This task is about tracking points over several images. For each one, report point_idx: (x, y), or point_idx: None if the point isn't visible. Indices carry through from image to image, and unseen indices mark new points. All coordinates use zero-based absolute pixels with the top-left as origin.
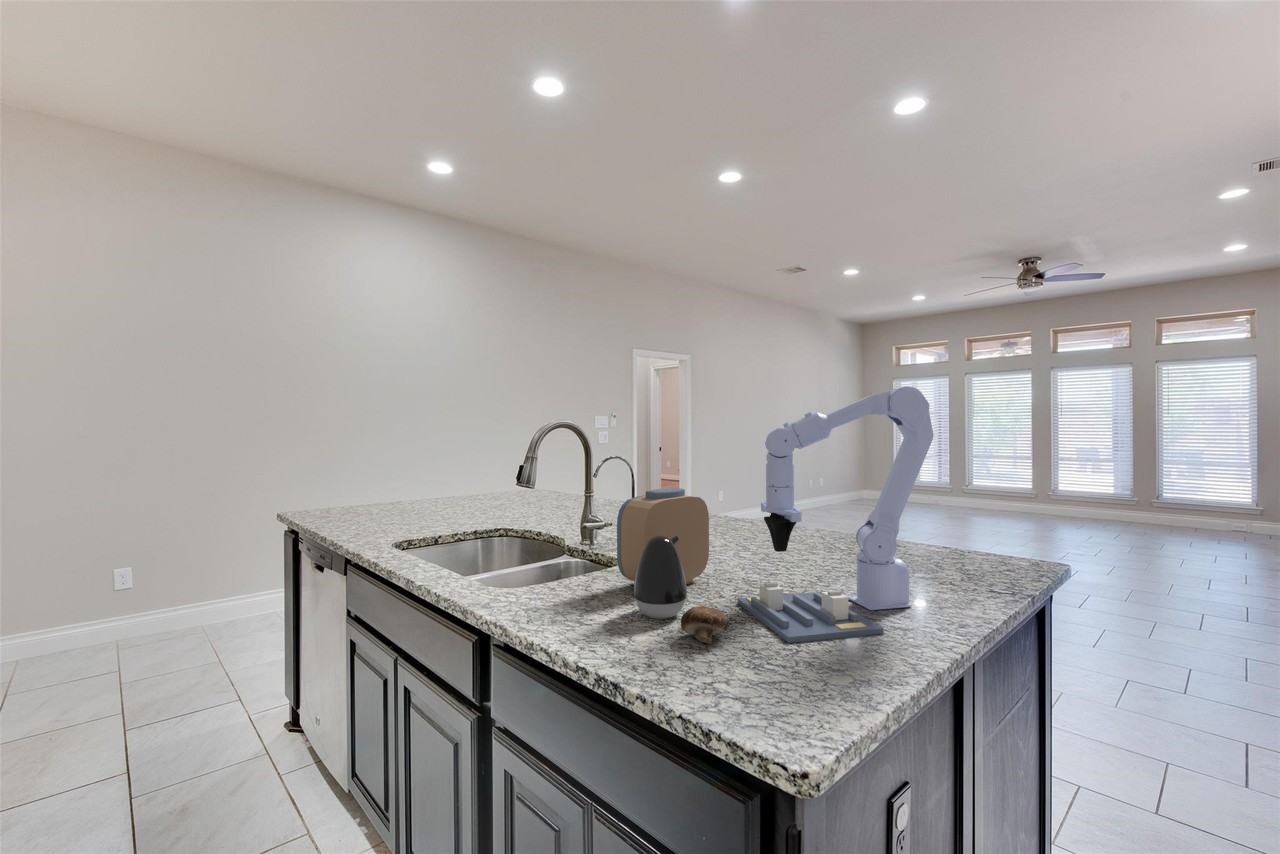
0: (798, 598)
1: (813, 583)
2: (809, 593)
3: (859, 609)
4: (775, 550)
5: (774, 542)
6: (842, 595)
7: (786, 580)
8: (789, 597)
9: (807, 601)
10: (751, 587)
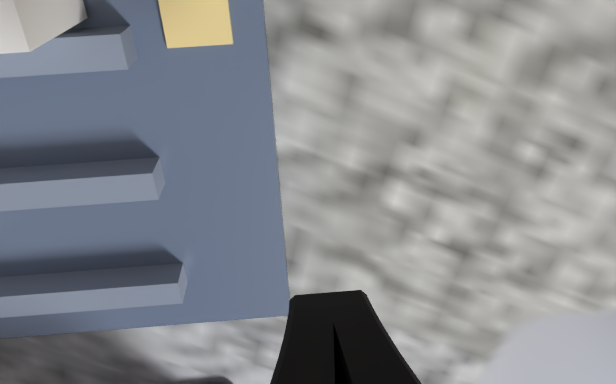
0: (77, 176)
1: (484, 350)
2: (271, 276)
3: (99, 373)
4: (333, 294)
5: (323, 359)
6: None
7: (581, 267)
8: (216, 160)
9: (4, 199)
10: (553, 40)
